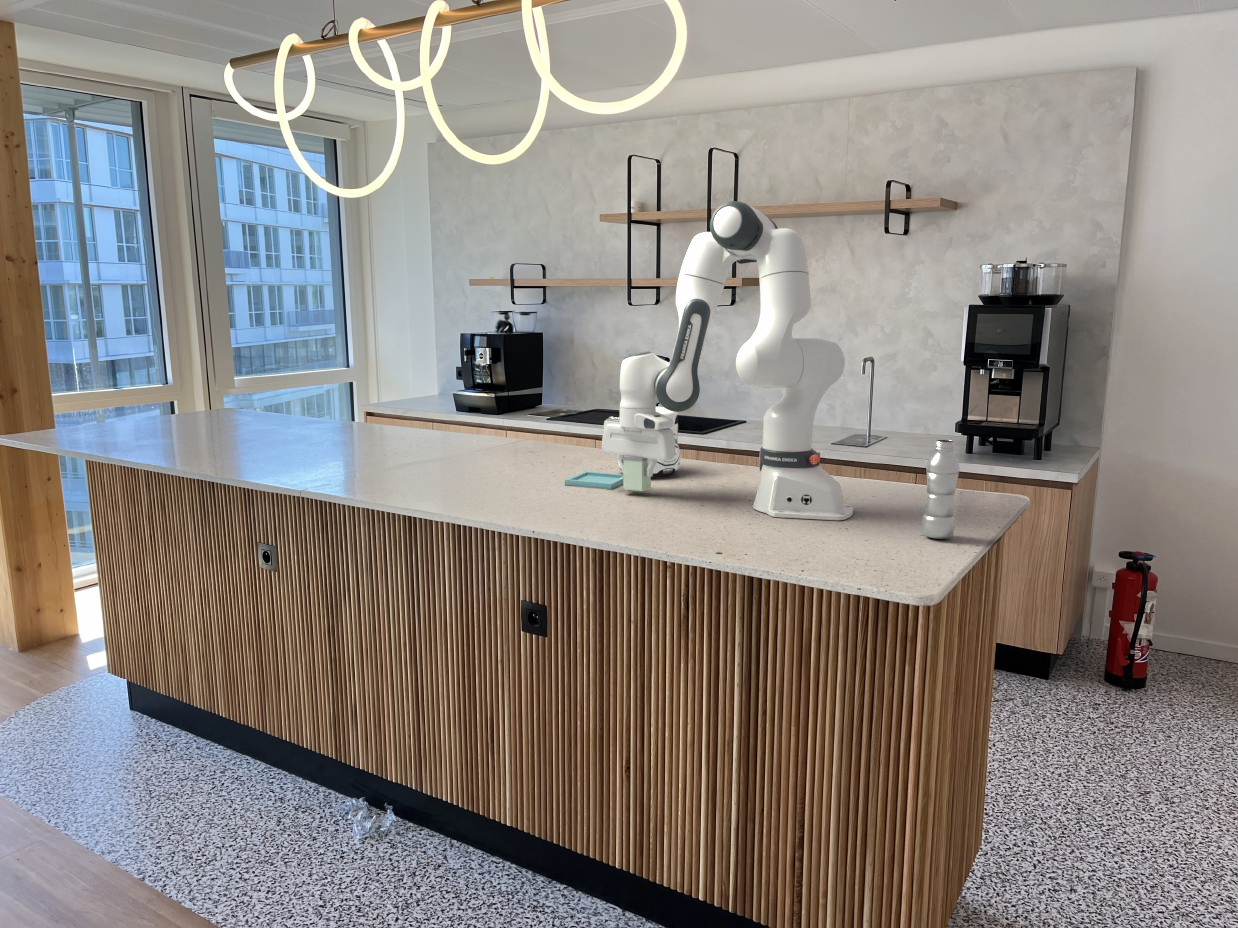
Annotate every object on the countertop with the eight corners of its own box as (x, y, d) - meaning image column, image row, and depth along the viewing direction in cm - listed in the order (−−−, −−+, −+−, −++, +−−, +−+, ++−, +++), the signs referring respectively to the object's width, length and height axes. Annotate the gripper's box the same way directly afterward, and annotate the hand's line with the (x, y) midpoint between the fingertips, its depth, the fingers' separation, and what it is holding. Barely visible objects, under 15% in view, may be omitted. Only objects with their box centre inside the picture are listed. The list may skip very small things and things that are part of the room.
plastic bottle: (916, 539, 180) (923, 441, 177) (925, 532, 186) (932, 437, 182) (949, 543, 177) (957, 444, 173) (957, 536, 182) (965, 440, 179)
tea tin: (651, 487, 221) (651, 455, 219) (641, 491, 216) (642, 458, 215) (632, 485, 223) (632, 453, 222) (622, 489, 219) (623, 456, 217)
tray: (629, 480, 237) (629, 475, 237) (611, 489, 225) (611, 484, 225) (585, 476, 242) (585, 471, 241) (564, 485, 230) (564, 479, 229)
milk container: (673, 482, 236) (674, 414, 232) (610, 478, 240) (610, 411, 237) (685, 470, 252) (687, 407, 249) (626, 467, 256) (627, 404, 253)
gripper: (596, 417, 221) (596, 472, 223) (663, 423, 208) (663, 481, 210) (612, 414, 226) (612, 468, 228) (679, 420, 213) (678, 477, 215)
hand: (637, 474), depth 219 cm, fingers closed on tea tin, 5 cm apart
